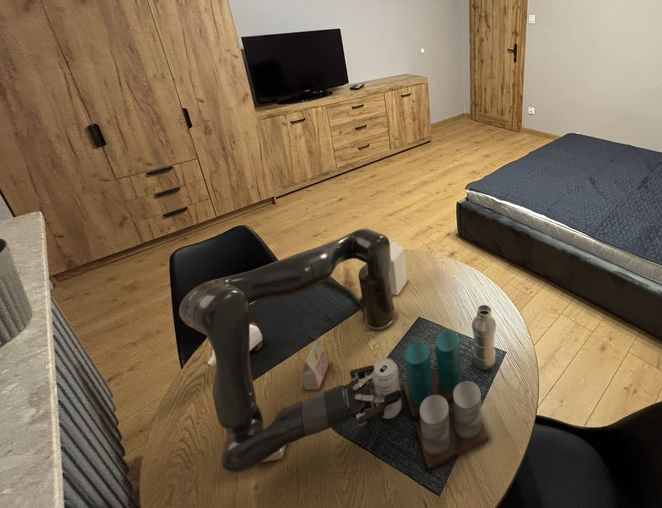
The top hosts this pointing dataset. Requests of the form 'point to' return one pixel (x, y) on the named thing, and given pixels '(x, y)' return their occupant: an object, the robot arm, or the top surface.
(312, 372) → the pink white gabled box
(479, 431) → the tin rack
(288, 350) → the top surface
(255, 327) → the giant panda
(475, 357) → the plastic bottle
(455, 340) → the can rack
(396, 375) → the energy drink can
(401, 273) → the milk carton
